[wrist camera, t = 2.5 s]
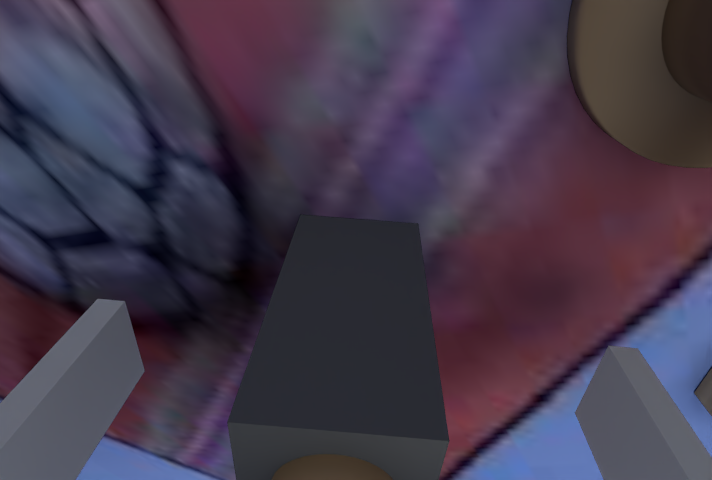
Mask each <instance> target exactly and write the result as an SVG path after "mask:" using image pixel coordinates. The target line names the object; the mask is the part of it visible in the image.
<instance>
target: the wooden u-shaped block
mask: <svg viewBox="0 0 712 480" xmlns="http://www.w3.org/2000/svg"><path fill="white" fill-rule="evenodd" d="M694 393H695V395H696V396H697V397H698V399H699V400H700V401H701V403H702V404H703V405H704V407H705V408H706V409H707V411H708V412H709V413H710V415H711V416H712V368H711V370H710V371H709V373H708V374H707V375H706V377H705V378H704V380H703V381H702V382H701V384H700V385H699V387H698V388H697V389H696V391H695V392H694Z"/></svg>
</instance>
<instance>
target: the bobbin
mask: <svg viewBox="0 0 712 480" xmlns="http://www.w3.org/2000/svg"><path fill="white" fill-rule="evenodd" d="M567 49H568V62H569V69H570V75H571V79H572V82H573V85H574V88H575V91H576V94H577V96H578V98H579V100H580V102H581V104H582V106H583V108H584V109H585V111H586V112H587V113H588V115H589V116H590V117H591V119H592V120H593V121H594V122H595V123H596V124H597V125H598V126H599V127H600V128H601V129H602V130H603V131H604V132H605V133H607V134H608V135H609V136H611V137H612V138H614V139H615V140H617V141H618V142H620V143H621V144H623V145H624V146H626V147H627V148H629V149H630V150H631V151H633V152H634V153H636V154H639V155H641V156H643V157H645V158H647V159H649V160H652V161H656V162H659V163H663V164H666V165H672V166H679V167H686V168H708V167H712V0H573V1H572V6H571V10H570V15H569V24H568V34H567Z"/></svg>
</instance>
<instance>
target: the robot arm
mask: <svg viewBox="0 0 712 480" xmlns="http://www.w3.org/2000/svg"><path fill="white" fill-rule="evenodd" d="M144 371H145V370H144V367H143V363H142V360H141V356H140V353H139V349H138V346H137V342H136V338H135V335H134V331H133V328H132V324H131V321H130V317H129V314H128V310H127V307H126V303H125V301H117V300H107V299H97V300H96V301H95V302H94V303H93V304H92V305H91V306H90V308H89V309H88V310H87V311H86V312H85V313H84V314H83V315H82V316H81V317H80V318H79V319H78V320H77V321H76V323H75V324H74V325H73V326H72V327H71V328H70V329H69V330H68V331H67V332H66V333H65V334H64V335H63V336H62V338H61V339H60V340H59V341H58V342H57V343H56V344H55V345H54V346H53V347H52V348H51V349H50V350H49V352H48V353H47V354H46V355H45V356H44V357H43V358H42V359H41V360H40V361H39V362H38V363H37V364H36V365H35V367H34V368H33V369H32V370H31V371H30V372H29V373H28V374H27V375H26V376H25V377H24V378H23V379H22V380H21V382H20V383H19V384H18V385H17V386H16V387H15V388H14V389H13V390H12V391H11V392H10V393H9V394H8V395H7V397H6V398H5V399H4V400H3V401H2V402H1V403H0V480H76V478H77V477H78V475H79V473H80V472H81V470H82V469H83V467H84V466H85V464H86V462H87V461H88V459H89V458H90V456H91V455H92V453H93V451H94V450H95V448H96V447H97V445H98V444H99V442H100V440H101V439H102V437H103V436H104V434H105V433H106V431H107V429H108V428H109V426H110V425H111V423H112V422H113V420H114V418H115V417H116V415H117V414H118V412H119V411H120V409H121V407H122V406H123V404H124V403H125V401H126V400H127V398H128V396H129V395H130V393H131V392H132V390H133V389H134V387H135V385H136V384H137V382H138V381H139V379H140V378H141V376H142V374H143V373H144ZM575 414H576V416H577V419H578V421H579V423H580V426H581V428H582V430H583V433H584V435H585V437H586V440H587V442H588V444H589V447H590V449H591V451H592V454H593V456H594V458H595V460H596V463H597V465H598V467H599V470H600V472H601V474H602V477H603V479H604V480H712V457H711V456H710V454H709V453H708V451H707V450H706V448H705V447H704V445H703V444H702V443H701V441H700V440H699V438H698V437H697V435H696V434H695V432H694V431H693V429H692V428H691V426H690V425H689V423H688V422H687V420H686V419H685V417H684V416H683V415H682V413H681V412H680V410H679V409H678V407H677V406H676V404H675V403H674V401H673V400H672V398H671V397H670V395H669V394H668V392H667V391H666V389H665V388H664V387H663V385H662V384H661V382H660V381H659V379H658V378H657V376H656V375H655V373H654V372H653V370H652V369H651V367H650V366H649V364H648V363H647V361H646V360H645V359H644V357H643V356H642V354H641V353H640V351H639V350H638V348H627V347H616V346H608V348H607V350H606V352H605V354H604V356H603V358H602V360H601V362H600V364H599V366H598V368H597V370H596V372H595V374H594V376H593V378H592V380H591V382H590V384H589V386H588V388H587V390H586V392H585V394H584V396H583V398H582V400H581V402H580V404H579V406H578V408H577V410H576V412H575Z"/></svg>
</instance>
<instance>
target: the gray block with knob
mask: <svg viewBox="0 0 712 480" xmlns="http://www.w3.org/2000/svg"><path fill="white" fill-rule="evenodd" d="M227 423H228V429H229V436H230V442H231V448H232V455H233V461H234V468H235V474H236V480H438V479H439V475H440V472H441V468H442V465H443V461H444V458H445V454H446V451H447V447H448V443H449V437H448V430H447V423H446V416H445V409H444V402H443V395H442V388H441V381H440V374H439V367H438V360H437V353H436V346H435V339H434V332H433V325H432V318H431V311H430V304H429V297H428V290H427V283H426V276H425V269H424V262H423V255H422V248H421V241H420V234H419V227H418V224H416V223H403V222H390V221H377V220H364V219H351V218H338V217H325V216H312V215H300V218H299V220H298V223H297V226H296V229H295V232H294V235H293V237H292V240H291V243H290V246H289V249H288V252H287V254H286V257H285V260H284V263H283V266H282V269H281V271H280V274H279V277H278V280H277V283H276V286H275V288H274V291H273V294H272V297H271V300H270V303H269V305H268V308H267V311H266V314H265V317H264V320H263V323H262V325H261V328H260V331H259V334H258V337H257V340H256V342H255V345H254V348H253V351H252V354H251V357H250V359H249V362H248V365H247V368H246V371H245V374H244V376H243V379H242V382H241V385H240V388H239V391H238V393H237V396H236V399H235V402H234V405H233V408H232V410H231V413H230V416H229V419H228V422H227Z"/></svg>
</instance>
